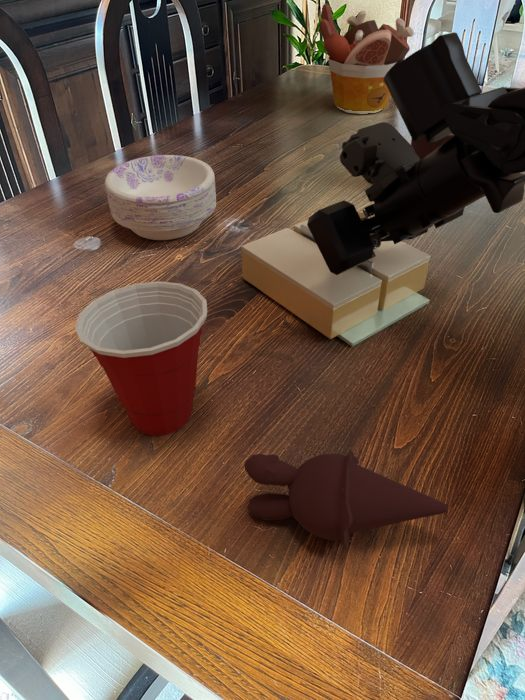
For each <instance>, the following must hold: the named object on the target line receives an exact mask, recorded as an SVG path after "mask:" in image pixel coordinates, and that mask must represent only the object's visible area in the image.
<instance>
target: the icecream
mask: <svg viewBox="0 0 525 700" xmlns="http://www.w3.org/2000/svg"><path fill="white" fill-rule="evenodd" d="M359 463H360V461H359V459H358V458H357V457H356V456H355V453H354V451H353V450H352V449H350V450H349V451H348V452H347V454H346V455H343V454H340V453H321V454H319V455H316V456H313V457H311V458H308V459H307V460H306V461H304V462H303V463H302V464H300V465H299V466H298V467H295V466H294V465H292V464H290V463H289V462H286V461H283V460H280V457H279V456H278V455H277V454H274V453H273V454H263V453H257V454H252V455H251V456H249V457H248V458H247V459H246V460H245V461H244V470H245V471H246V473H247V475H248V477H249V478H250V479H251V480H252V481H253V482H254V483H256V484H260V485H264V486H269V485H271V486H278V487H287V489H288V494H285V493H273V492H266V493H262V494H256V495H254V496H253V497H251V498H250V499H249V501H248V503H247V511H248V513H249V514H250V515H251V516H253V517H254V518H255V519H260V520H263V521H276V520H283V519H284V520H285V519H287V518H290V517H292V516H293V518H294V519H295V520H296V521H297V523H298V524H299V525H300V526H301V527H302V528H303V529H304V530H305V531H307V532H308V533H310V534H312V535H313V536H315V537H316V538H320V539H325V540H327V541H331V542H335V541H340V542H341V543H342V544H343V546H344V548H345V549H346V548H347V547H348V546H350V541H349V536H351V534H354V533H355V534H356V533H359V532H364V531H369V530H372V529H378V528H383V527H387V526H390V525H395V524H398V523H399V524H400V523H404V522H409V521H413V520H417V519H422V518H427V517H432V516H437V515H441V514H446V513H448V509H449V507H448V504H447V503H445V502H442V501H441V500H439V499H436V498H434V497H432V496H430V495H427V494H425V493H423V492H420V491H418V490H416V489H415V488H411V487H410V486H407V485H404V484H403V483H400V482H399V481H396V480H394V479H392V478H389V477H386V476H385V475H382V474H380V473H377V472H375V471H373V470H371V469H369V468H367V467H364V466H361V465H359Z"/></svg>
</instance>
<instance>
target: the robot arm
mask: <svg viewBox="0 0 525 700" xmlns="http://www.w3.org/2000/svg"><path fill="white" fill-rule="evenodd" d="M384 82H385V84H386V86H387V88H388V90H389V92H390V94H391V95H390V97H391V98H392V100H393V103H394V105H395V106H396V109H397V111H398V113H399V115H400V117H401V120H402V121H403V123H404V125H405V127H406V129H407V131H408V133H409V135H410V137H411V139H412V138H413V140H414V142H415V141H417V140H419V139H421V138H423V137H424V136H425V135H426V137H425V138H426V140H427V142H428V143H433V142H435V141H438V140H440V139H442V138H444V137H446V136H447V135H449V134H451V133H452V134H453V135H455V136H454V137H452V138H451V139H450V140H448V141H447V142H445V143H444V144H443V145H441V146H440V147H438V148H437V149H436V150H434V151H433V152H431V153H430V154H429V155H427V156H425V157H423V158H422V159H420V158H419V157H418V155H417V154H416V153H415V151H414V148H413V147H412V146H411V143H410V142H409V141H408V140H407V139H406V138H405V137H404V136H403V134H401V133H400V132H399V131H398V130H397V129H396V127H394V125H392V124H391V123H389V122H384V121H382V122H377V123H375V124H371V125H368V126H365V127H362V128H360V129H358V130H357V132H356V133H354V134H351V135H350V136H349V139H348V140H347V141H343V142H342V144H341V149H342V150H341V153H340V154H339V161H340V164H341V165H342V166H343V167H344V168H345V170H347V172H348V173H349V174H350V175H351V177H353V178H359V177H362V178H363V179H364V180H365V181H366V183H368V184H370V186H369V187H368V188H366V189H364V193H365V195H366V197H367V199H368V201H369V202H370V203H372V204H369V205H367V206H365V207H363V208H362V213H364V215H365V216H366V217H364V218H360V217H359V214H358V212H359V211H358V210H357V208H356V206H355V204H354V203H351V202H349V201H347V200H345V199H344V200H341V201H337V202H335V203H333V204H330V205H328V206H325V207H322V208H320V209H318V210H317V211H315V212H314V213H313V214H312V215H311V216H308V219H307V220H308V223H307V226H308V228H309V230H310V232H311V234H312V236H313V238H314V240H315V242H316V244H317V246H318V248H319V250H320V252H321V254H322V256H323V258H324V260H325V262H326V264H327V266H328V268H329V270H330V272H331V273H333V274H335V275H339V274H341V273H343V272H345V271H347V270H349V269H351V268H354V267H356V266H358V265H360V264H362V263H364V262H365V261H367V260H369V259H371V258H373V257H375V256H376V255H375V253H374V251H373V250H375V249H377V248H379V247H380V246H381V242H384V241H393V242H394V244H397V243H399V242H401V241H402V242H404V241H407V240H408V241H409V240H414V239H416V238H418V237H419V236H422V235H424V234H426V233H428V232H429V229H430V228H432V227H433V226H434V228H435V229H438V228H440V227H442V226H445V225H446V224H448V223H451V222H452V221H454V220H456V219H458V218H460V217H462V216H463V215H464V211H465V208H466V207H468V206H470V205H472V204H473V203H475V202H478V201H479V200H480V199H482V198H484V197H485V199H486V200H487V202H488V206H489V207H490V209H491V211H492V212H493V213H494V214H499V213H501V212H504V211H505V210H507V209H509V208H511V207H514V206H516V205H517V204H520V203H521V202H522V201H523V200H524V195H525V194H524V193H525V86H524V87H507V86H500V87H498V88H494V89H491V90H488V91H484V92H483V90H482V88H481V86H480V84H479V82H478V80H477V78H476V76H475V73H474V72H473V69H472V67H471V65H470V63H469V61H468V59H467V56H466V53H465V50H464V45H463V43H462V41H461V39H460V36H459V34H458V33H457V32H449V33H445V34H439V35H438V36H437V37H436V38H435V39H434V40H433V41H432V42H431V43H429V44H426V46H423V47H422V48H420V49H418V50H416V51H415V52H412V53H411V54H410V55H408V56H407V57H406V58H403V60H402V61H399V62H397V63H396V64H395V65H394V66H393V67H391V69H390V70H389V71H388V72H387V73H386V75H385V77H384ZM367 218H368V219H367Z"/></svg>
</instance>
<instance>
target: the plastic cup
mask: <svg viewBox="0 0 525 700" xmlns="http://www.w3.org/2000/svg"><path fill="white" fill-rule="evenodd" d="M207 316H208V301H207V299H206V298H205V297H204V296H203V295H202V294H201V293H200V292H199V291H198V289H196V288H194V287H193V288H192V287H190V286H188V285H186V284H183V283H179V282H168V281H160V280H159V281H149V282H139V283H138V282H137V283H132V284H130V285H126V286H122V287H119V288H116V289H112V290H110V291H108V292H106V293H105V294H102V295H101V296H98V297H97V298H95V299H93V300H91V302H90V303H88V305H87V306H86V307H84V308H83V309H82V310H81V311H80V313H78V315H77V319H76V322H75V325H74V330H75V332H76V335H77V337H78V339H79V342H81V344H82V345H83V346H85V347H86V348H88V349H89V350H90V351H91V352H92V354H93V356H94V357H95V358H96V360H97V361H98V363H99V365H100V366H101V368H102V369H103V371H104V373H105V375H106V377H107V378H108V381H109V383H110V385H111V387H112V389H113V391H114V392H115V395H116V397H117V398H118V400H119V402H120V404H121V407H123V408H124V410H125V412H126V414H127V416H128V418H129V420H130V423H131V424H132V425H133V426H134V428H135V429H137V430H138V431H140V432H141V433H142V434H144V435H145V434H146V435H149V436H154V437H157V436H166V435H169V434H172V433H174V432H177V431H179V430H180V429H182V428H183V427H184V426H186V425H187V424H188V421H189V420H190V418H191V416H192V413H193V410H194V409H193V408H194V398H195V396H194V395H195V391H196V385H197V374H198V360H199V351H200V350H199V348H200V345H201V336H202V332H203V326H204V323H205V321H206V320H207Z"/></svg>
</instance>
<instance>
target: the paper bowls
mask: <svg viewBox="0 0 525 700" xmlns="http://www.w3.org/2000/svg"><path fill="white" fill-rule="evenodd" d="M104 188H105V191H106V197H107V203H108V206H109V210H110V215H111V217H112V219H113V220H114V221H115V222H116V223H117V224H118V225H120V226H122V227H123V228H127V229H129V230H131V232H133V233H134V234H136V235H137V236H139V237H141V238H144V239H147V240H153V241H171V240H175V239H180V238H183V237H186V236H188V235H190V234H192V233H193V232H194V231H196V230H197V229H198V228H199V227H200V225H201V224H202V222H203V221H204V220H206V219H207V218H208V217H210V216H211V215H212V214H213V213H214V212H215V210H216V207H217V191H216V178H215V172H214V170H213V168H212V166H210V165H209V164H208V163H207V162H204V161H203V160H200V159H198V158H195V157H191V156H187V155H180V154H179V155H178V154H157V155H150V156H149V155H148V156H143V157H138V158H134V159H131V160H128V161H125V162H123V163H121V164H118V165H117V166H115V167H113V169H111V170H110V171H109V172H108V173H107V175H106V176H105V179H104Z"/></svg>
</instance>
